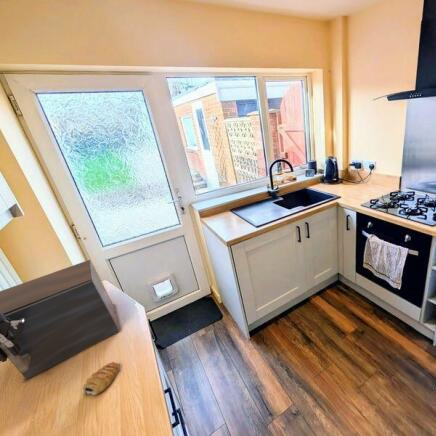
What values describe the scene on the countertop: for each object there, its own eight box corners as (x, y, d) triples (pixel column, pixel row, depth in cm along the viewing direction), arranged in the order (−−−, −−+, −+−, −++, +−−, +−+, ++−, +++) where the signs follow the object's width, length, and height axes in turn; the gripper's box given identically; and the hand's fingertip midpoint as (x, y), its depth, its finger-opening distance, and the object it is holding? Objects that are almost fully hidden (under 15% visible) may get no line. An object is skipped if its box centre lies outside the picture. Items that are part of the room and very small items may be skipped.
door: (121, 340, 90) (93, 289, 80) (24, 393, 76) (-25, 338, 66) (119, 329, 96) (92, 279, 86) (27, 377, 81) (-19, 324, 71)
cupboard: (119, 329, 96) (91, 279, 86) (27, 375, 81) (-18, 322, 71) (114, 305, 109) (89, 259, 99) (34, 341, 94) (-4, 292, 84)
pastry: (109, 364, 82) (104, 356, 81) (125, 367, 81) (121, 359, 79) (82, 393, 74) (76, 385, 72) (100, 397, 72) (94, 389, 71)
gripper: (13, 292, 71) (43, 334, 78) (-62, 319, 63) (-21, 363, 70) (8, 305, 65) (41, 350, 72) (-74, 337, 57) (-28, 383, 65)
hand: (11, 356), depth 71 cm, fingers closed on door, 2 cm apart
